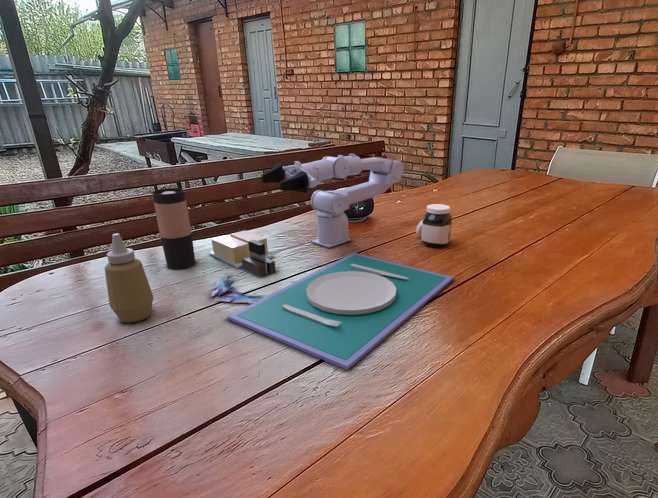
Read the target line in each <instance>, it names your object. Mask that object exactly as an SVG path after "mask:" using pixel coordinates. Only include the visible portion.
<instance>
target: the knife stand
mask: <svg viewBox="0 0 658 498" xmlns="http://www.w3.org/2000/svg"><path fill="white" fill-rule="evenodd" d="M266 261H267V272H268V274H269V275H271V274H274V273H276V272H277V269H276V261H275V260H273V259H272V258H270V259H268V258H266ZM242 265H243V267H242V270H244V271H246V272H249V273H251V274H252V275H255V276H257V277H259V278H262V277H265V276H267V274H266V268H265V264H263V263H261V262H258V261H256V260H254V259H251V258H249V257H245V258H242Z"/></svg>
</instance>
